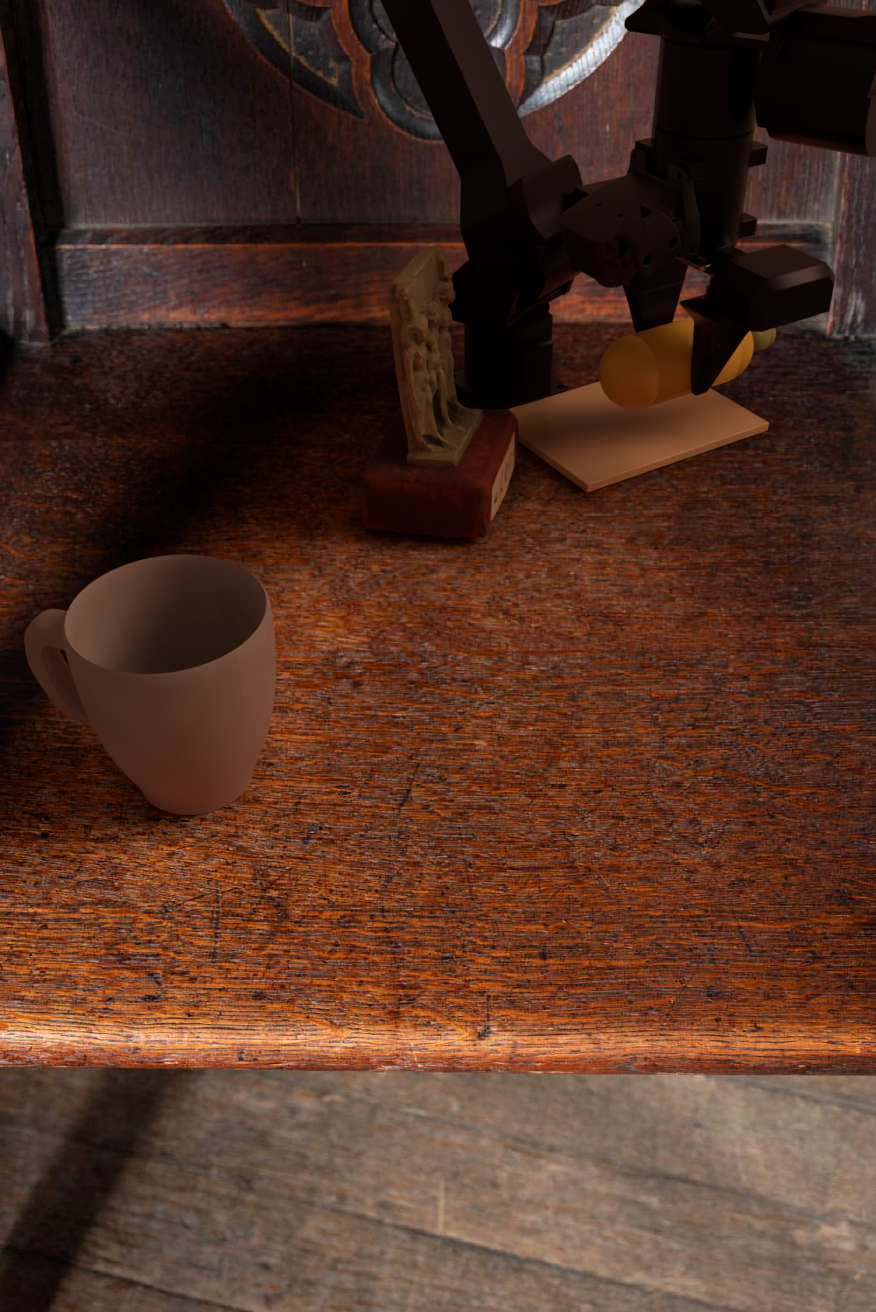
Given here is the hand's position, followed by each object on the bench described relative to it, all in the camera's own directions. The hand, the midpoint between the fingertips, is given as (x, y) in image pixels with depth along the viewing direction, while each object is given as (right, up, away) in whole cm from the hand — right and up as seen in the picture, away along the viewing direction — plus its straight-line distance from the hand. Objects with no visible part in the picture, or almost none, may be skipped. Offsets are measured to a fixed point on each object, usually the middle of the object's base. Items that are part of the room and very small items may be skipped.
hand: (674, 378), depth 81 cm
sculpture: (-15, -8, -3) cm, 17 cm away
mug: (-28, -23, -21) cm, 42 cm away
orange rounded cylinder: (+1, 0, +1) cm, 2 cm away
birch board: (-2, -2, +4) cm, 5 cm away
